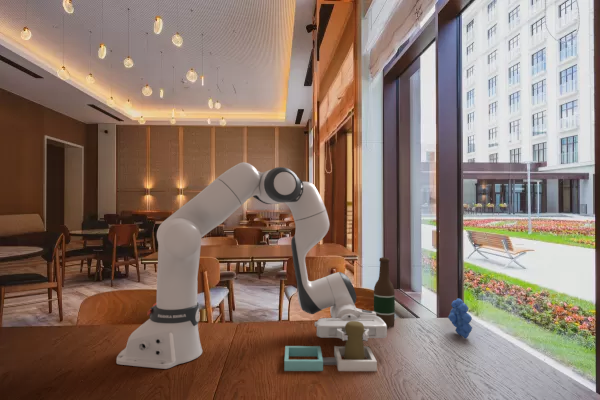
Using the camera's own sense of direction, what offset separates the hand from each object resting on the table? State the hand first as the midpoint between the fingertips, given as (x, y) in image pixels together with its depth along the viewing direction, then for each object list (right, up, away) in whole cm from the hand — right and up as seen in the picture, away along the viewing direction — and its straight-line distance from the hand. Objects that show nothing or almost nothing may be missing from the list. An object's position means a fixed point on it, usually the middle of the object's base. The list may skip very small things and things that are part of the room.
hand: (355, 338), depth 98 cm
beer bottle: (+15, -8, +33) cm, 37 cm away
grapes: (+38, -8, +22) cm, 44 cm away
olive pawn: (0, -7, +1) cm, 7 cm away
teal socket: (-14, -7, +1) cm, 16 cm away
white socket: (-2, -7, +1) cm, 7 cm away
